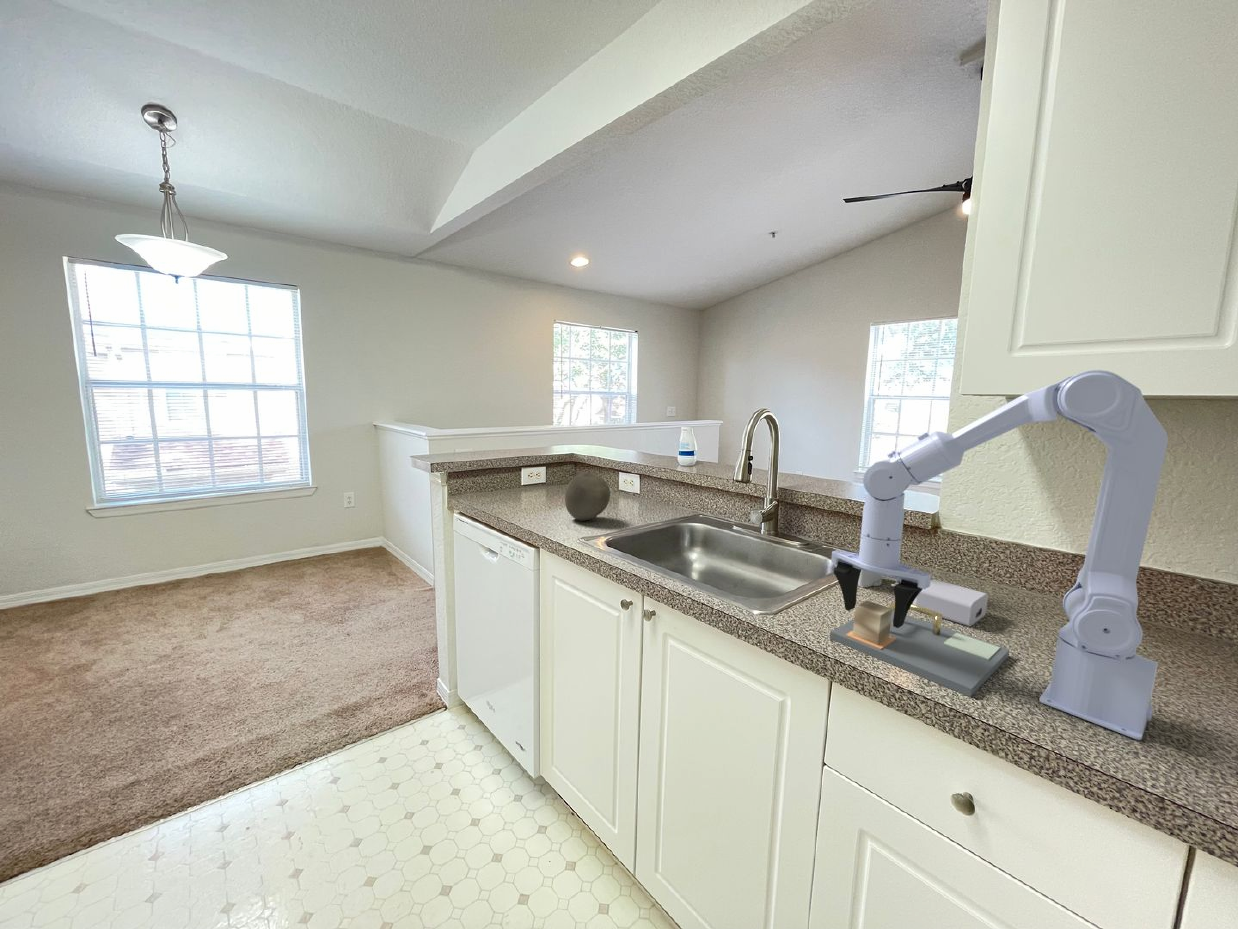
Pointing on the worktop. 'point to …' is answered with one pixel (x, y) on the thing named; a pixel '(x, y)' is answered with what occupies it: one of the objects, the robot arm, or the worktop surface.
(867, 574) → the grey tall flat piece
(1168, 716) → the worktop surface
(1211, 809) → the worktop surface
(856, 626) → the block
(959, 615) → the charger
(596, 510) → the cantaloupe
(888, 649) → the board
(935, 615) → the brass corner pipe rail
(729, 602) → the worktop surface
